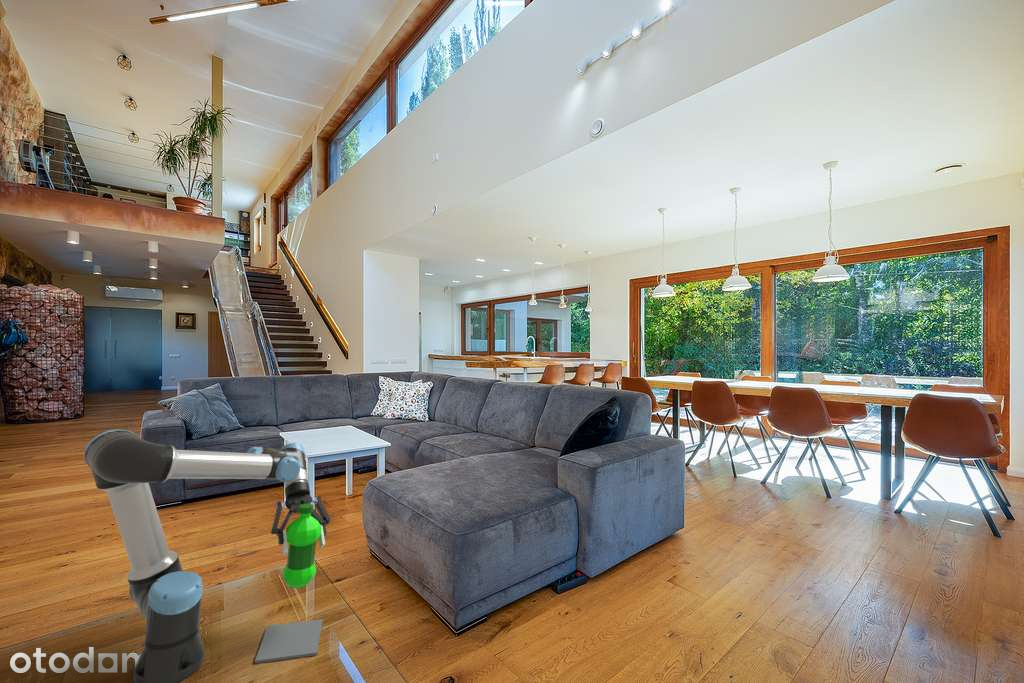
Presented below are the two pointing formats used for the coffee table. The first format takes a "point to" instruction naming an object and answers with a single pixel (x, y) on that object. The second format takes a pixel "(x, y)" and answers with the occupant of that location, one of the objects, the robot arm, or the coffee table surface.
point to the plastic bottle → (301, 548)
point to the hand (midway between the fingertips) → (304, 549)
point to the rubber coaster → (290, 641)
